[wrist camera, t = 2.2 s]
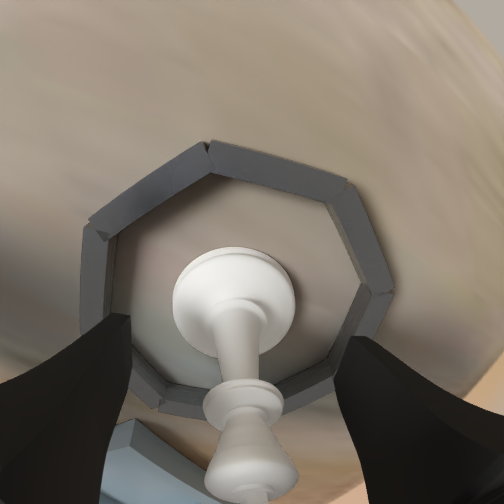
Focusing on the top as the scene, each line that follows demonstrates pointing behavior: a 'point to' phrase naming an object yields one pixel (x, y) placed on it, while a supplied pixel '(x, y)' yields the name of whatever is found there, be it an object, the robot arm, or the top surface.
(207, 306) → the chess piece
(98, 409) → the robot arm
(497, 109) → the top surface
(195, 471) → the tray
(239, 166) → the collar
